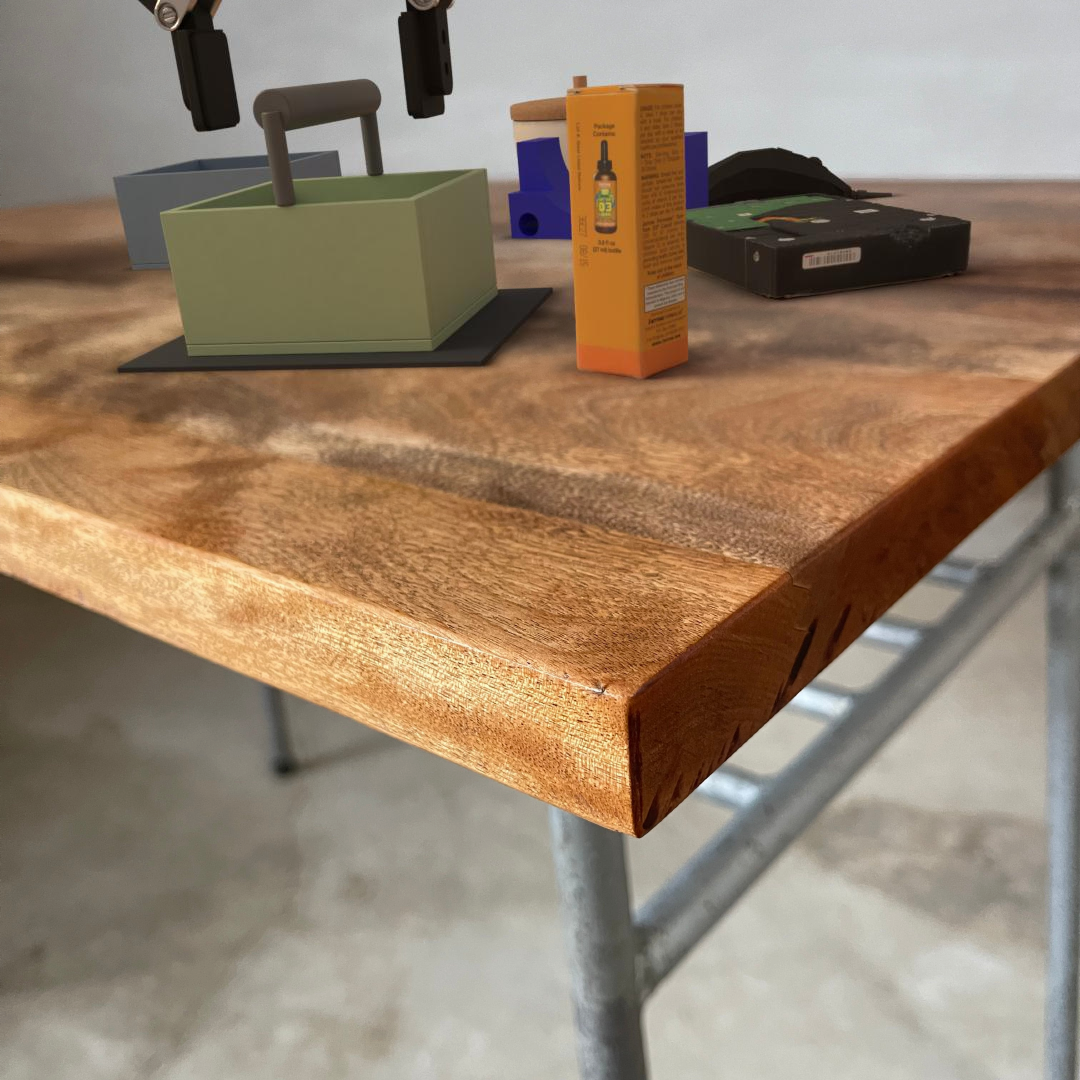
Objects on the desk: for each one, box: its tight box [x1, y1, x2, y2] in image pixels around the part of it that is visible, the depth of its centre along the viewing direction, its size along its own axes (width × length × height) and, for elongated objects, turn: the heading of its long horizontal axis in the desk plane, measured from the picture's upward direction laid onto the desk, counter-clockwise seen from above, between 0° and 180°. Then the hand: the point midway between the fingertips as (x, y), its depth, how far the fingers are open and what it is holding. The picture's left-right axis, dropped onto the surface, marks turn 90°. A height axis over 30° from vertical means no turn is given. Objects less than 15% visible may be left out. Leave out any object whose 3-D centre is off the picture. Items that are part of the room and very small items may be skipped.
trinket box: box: [509, 74, 588, 171], centre depth 84 cm, size 11×11×9 cm
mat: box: [116, 287, 554, 374], centre depth 52 cm, size 16×14×1 cm
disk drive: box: [686, 193, 972, 299], centre depth 57 cm, size 10×3×15 cm
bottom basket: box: [112, 149, 342, 271], centre depth 76 cm, size 11×11×6 cm
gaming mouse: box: [708, 146, 893, 207], centre depth 78 cm, size 6×15×4 cm, turn 88°
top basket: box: [160, 78, 498, 356], centre depth 49 cm, size 11×11×10 cm
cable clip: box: [507, 130, 709, 240], centre depth 71 cm, size 12×4×6 cm, turn 60°
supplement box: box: [565, 82, 689, 380], centre depth 40 cm, size 3×3×10 cm
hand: (320, 122), depth 48 cm, fingers open, 9 cm apart
